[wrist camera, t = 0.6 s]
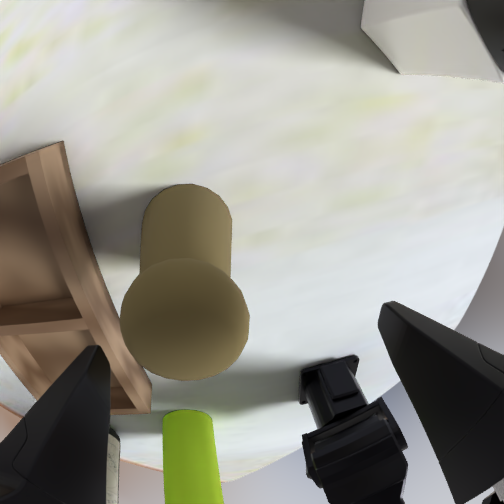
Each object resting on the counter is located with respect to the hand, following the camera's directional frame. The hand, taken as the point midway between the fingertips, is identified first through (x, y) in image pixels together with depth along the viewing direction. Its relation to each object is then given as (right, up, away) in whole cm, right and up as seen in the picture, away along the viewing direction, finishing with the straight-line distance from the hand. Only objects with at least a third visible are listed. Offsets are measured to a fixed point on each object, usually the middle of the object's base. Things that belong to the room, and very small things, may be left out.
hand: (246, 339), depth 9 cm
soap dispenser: (-7, -17, +22) cm, 29 cm away
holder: (-16, -1, +12) cm, 20 cm away
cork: (-4, +4, +11) cm, 13 cm away
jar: (+11, +19, +6) cm, 23 cm away
